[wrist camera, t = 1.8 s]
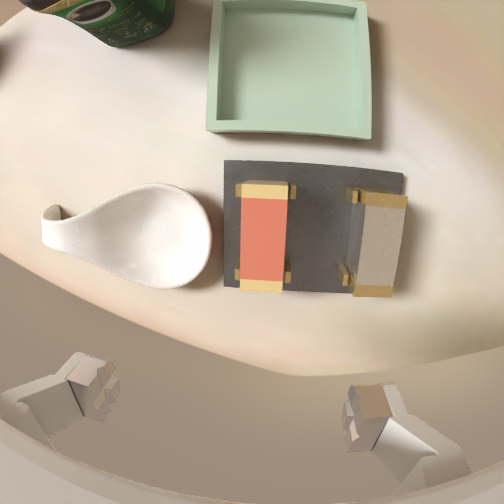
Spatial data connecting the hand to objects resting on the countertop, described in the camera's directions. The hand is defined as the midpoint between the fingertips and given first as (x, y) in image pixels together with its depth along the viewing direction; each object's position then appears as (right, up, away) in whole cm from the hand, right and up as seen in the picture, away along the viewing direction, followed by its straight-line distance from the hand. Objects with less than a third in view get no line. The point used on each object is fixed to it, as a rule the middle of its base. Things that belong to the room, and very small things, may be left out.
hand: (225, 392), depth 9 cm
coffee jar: (-13, +33, +17) cm, 39 cm away
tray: (+5, +24, +18) cm, 31 cm away
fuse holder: (+7, +7, +23) cm, 25 cm away
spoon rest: (-15, +8, +26) cm, 31 cm away
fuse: (+2, +7, +23) cm, 24 cm away
